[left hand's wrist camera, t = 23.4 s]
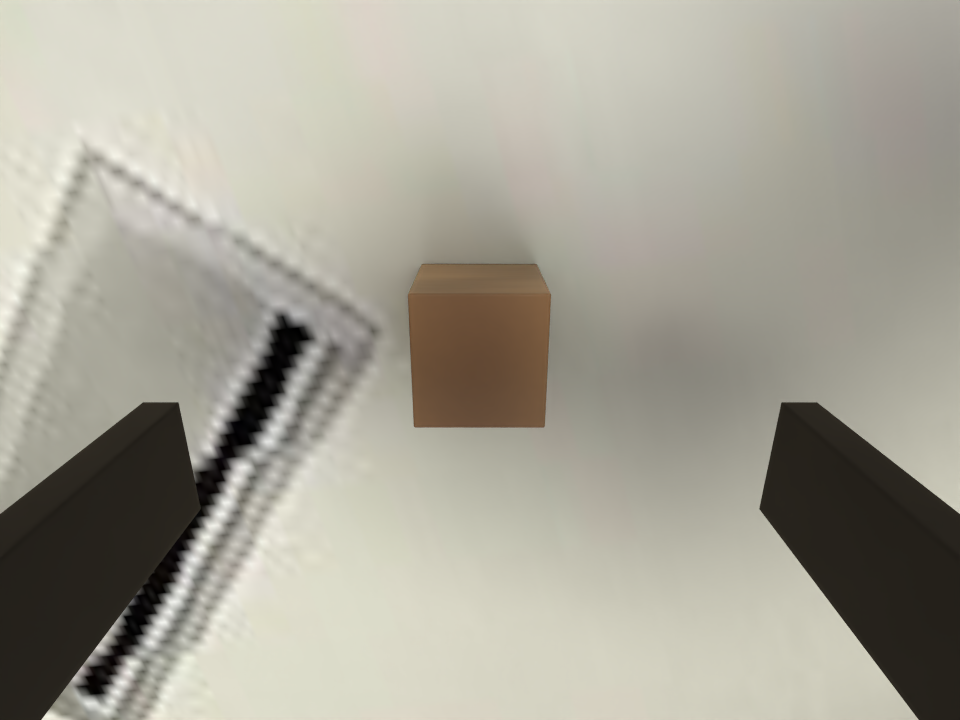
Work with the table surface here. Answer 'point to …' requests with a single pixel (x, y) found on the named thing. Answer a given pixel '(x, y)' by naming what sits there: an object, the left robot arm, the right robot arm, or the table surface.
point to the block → (479, 345)
